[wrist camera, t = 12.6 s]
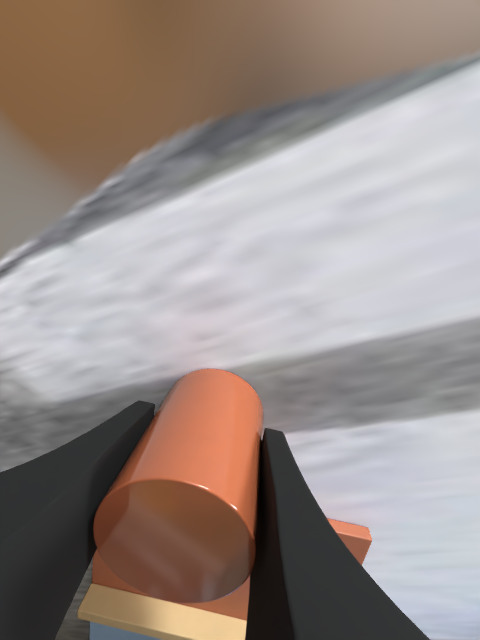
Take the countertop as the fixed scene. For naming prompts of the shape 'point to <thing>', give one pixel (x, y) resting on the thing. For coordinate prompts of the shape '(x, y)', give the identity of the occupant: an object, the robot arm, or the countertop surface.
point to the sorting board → (178, 604)
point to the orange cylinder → (188, 494)
